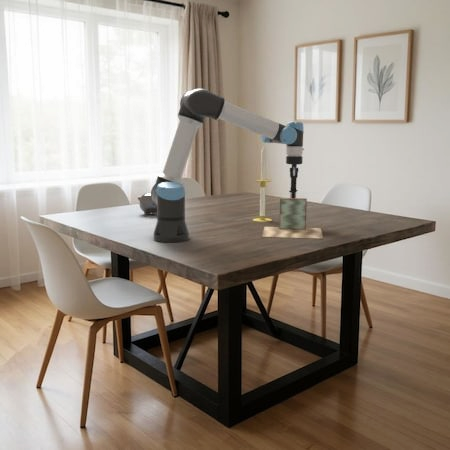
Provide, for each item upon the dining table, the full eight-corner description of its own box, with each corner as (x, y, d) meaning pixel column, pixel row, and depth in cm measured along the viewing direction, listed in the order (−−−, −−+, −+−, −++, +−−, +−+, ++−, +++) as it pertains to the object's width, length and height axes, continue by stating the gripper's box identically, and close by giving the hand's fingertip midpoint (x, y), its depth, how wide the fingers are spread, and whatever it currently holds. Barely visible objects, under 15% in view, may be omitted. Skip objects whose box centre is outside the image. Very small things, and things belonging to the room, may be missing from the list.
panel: (279, 229, 249) (280, 198, 246) (279, 227, 252) (280, 197, 249) (305, 229, 248) (306, 199, 245) (305, 228, 251) (306, 198, 248)
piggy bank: (163, 216, 281) (162, 194, 279) (135, 215, 283) (134, 194, 281) (168, 213, 292) (167, 192, 290) (141, 212, 294) (140, 191, 292)
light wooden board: (262, 237, 233) (262, 236, 233) (264, 227, 254) (264, 226, 254) (323, 239, 230) (323, 238, 230) (320, 229, 251) (320, 228, 251)
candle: (261, 218, 279) (262, 144, 272) (276, 220, 272) (278, 145, 265) (248, 220, 272) (249, 145, 265) (263, 223, 265) (264, 145, 258)
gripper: (302, 156, 245) (301, 208, 250) (302, 154, 258) (300, 203, 263) (286, 156, 246) (284, 207, 251) (286, 154, 259) (285, 203, 263)
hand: (292, 205), depth 257 cm, fingers closed
